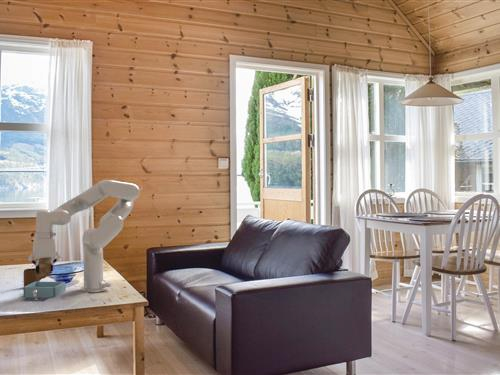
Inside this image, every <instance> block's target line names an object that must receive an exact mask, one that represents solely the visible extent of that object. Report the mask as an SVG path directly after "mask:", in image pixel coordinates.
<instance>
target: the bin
mask: <svg viewBox="0 0 500 375" xmlns="http://www.w3.org/2000/svg"><path fill="white" fill-rule="evenodd" d="M66 285H67V284H66V281H39V282H34V283H31V284H29V285H27V286H25V287H24V286H23V298H27V297H34V296H33V291H34V290H37V298H57V297H58V296H60V295H61V294H63V293H64V292H66Z"/></svg>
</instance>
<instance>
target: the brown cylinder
mask: <svg viewBox="0 0 500 375" xmlns="http://www.w3.org/2000/svg"><path fill="white" fill-rule="evenodd" d="M51 274H52V273H51V258H39V274H38V276H39V277H46V278H47V277H51Z"/></svg>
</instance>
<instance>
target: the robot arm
mask: <svg viewBox="0 0 500 375" xmlns="http://www.w3.org/2000/svg"><path fill="white" fill-rule="evenodd" d="M140 191H141V190H140V188H139V186H138V185H137V184H135V183H130V182H124V181H123V182H122V181H117V180H114V179H102V180H100V181H99V182H96V183H95V184H94V185H93V186H91V187H89V188H87V189H86V190H84V191H82V193H80V194H78V195H76V196H74V197H73V198H71V199H70V200H67V201H66V202H64V203H63V204H61V205H59V206H58V207H57V208H55V209H54V210H49V209H41V210H38V211H36V214H35V216H36V218H35V238H34V239H33V245H32V253H31V254H30V255H29V257H28V258H27V260H28V261H29V262H31V263H32V264H33V265H34V266H35V268H36V272H37V274H39V258H51V273H50V274H52V273H53V271H54V264H56V262H57V261H58V260H60V259H61V255H60V254H59V253H58V252H57V251H56V249H57V248H56V242H55V241H56V240H55V238H54V237H55V236H57V233H56V232H54V226H65V225H68V224H69V223H70V222H71V218H72V216H74V215H76V214H77V213H80V212H82V211H85V210H89V209H91V208H93V207H95V206H96V205H97V204H98V203H100V202H101V201H104V199H107V198H108V197H109V198H115V199H118V200H117V202H116V203H115V204H114V206H113V207H111V208H110V209H109V210H108V211H107V212H106V213H105V214H104V215H103V216H101V218H100V219H99V225H98V226H97V227H89V228H88V229H86V230H85V231H84V232H83V234H82V237H81V238H82V240H81V242H82V250H83V286H82V287H80V289H79V290H80V291H83V292H88V293H101V292H104V291H106V290H107V288H111V287H112V282H106V280H105V279H104V248H105V247H106V246H107V245H108V244H109V243H110V242H112V240H113V239H114V238H115V237H117V235H119V233H120V232H121V231H122V229H123V227H124V220H125V219H126V218H127V217H128V215H130V214H131V212H132V211H133V208H134V203H135V202H134V201H135V200H136V199H138V198H139V196H140V195H141V192H140Z"/></svg>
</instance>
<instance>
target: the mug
mask: <svg viewBox="0 0 500 375" xmlns="http://www.w3.org/2000/svg"><path fill="white" fill-rule="evenodd" d="M46 278H47V277H39V276H38V274H37V272H36V267H35V268H34V267H33V268H26V269H23V287H25V286H27V285H29V284H31V283H34V282H41V281H42V280H43V279H46Z"/></svg>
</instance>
